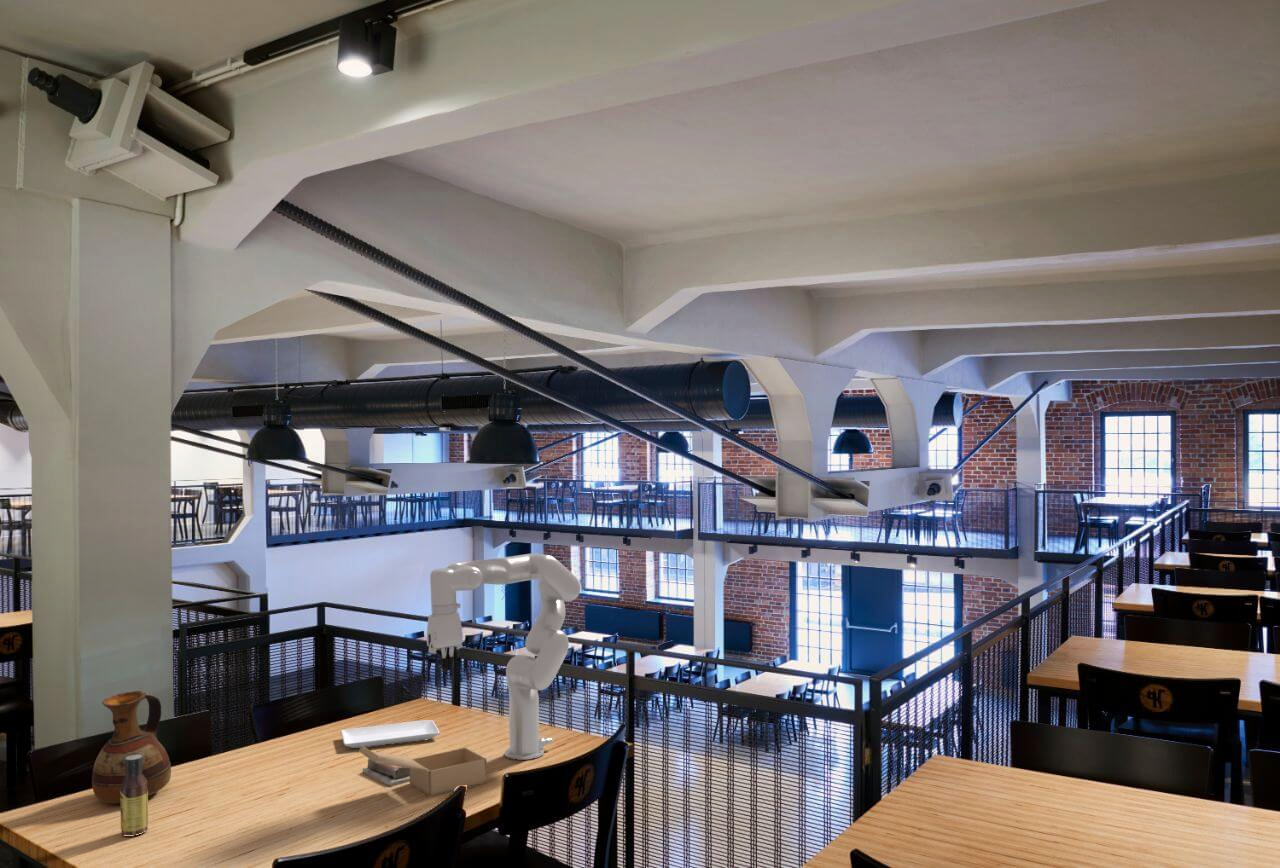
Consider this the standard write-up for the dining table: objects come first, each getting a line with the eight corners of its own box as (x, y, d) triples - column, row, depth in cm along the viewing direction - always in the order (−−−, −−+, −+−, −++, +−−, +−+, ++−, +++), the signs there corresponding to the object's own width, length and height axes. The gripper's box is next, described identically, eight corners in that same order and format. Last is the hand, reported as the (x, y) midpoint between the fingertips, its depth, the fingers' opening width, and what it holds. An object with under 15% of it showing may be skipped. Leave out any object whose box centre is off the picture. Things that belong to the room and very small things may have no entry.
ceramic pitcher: (75, 804, 262) (75, 697, 263) (136, 781, 281) (136, 681, 282) (127, 812, 255) (127, 703, 256) (186, 788, 274) (186, 685, 275)
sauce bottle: (127, 829, 244) (127, 752, 244) (152, 827, 244) (152, 751, 245) (115, 839, 237) (115, 760, 238) (141, 838, 238) (141, 759, 238)
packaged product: (361, 758, 286) (390, 750, 293) (361, 773, 286) (390, 766, 293) (391, 771, 273) (421, 763, 280) (391, 788, 273) (421, 779, 280)
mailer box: (465, 770, 286) (465, 747, 286) (486, 782, 275) (486, 758, 275) (409, 783, 276) (409, 759, 276) (429, 796, 264) (429, 771, 264)
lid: (360, 744, 267) (358, 751, 266) (378, 756, 256) (376, 763, 256) (409, 752, 275) (407, 758, 275) (428, 764, 265) (426, 770, 264)
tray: (440, 742, 317) (440, 731, 317) (343, 753, 305) (343, 743, 305) (432, 728, 333) (432, 718, 333) (340, 739, 321) (340, 729, 321)
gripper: (460, 604, 290) (463, 663, 290) (415, 611, 281) (418, 672, 281) (472, 607, 284) (474, 667, 284) (426, 614, 275) (428, 676, 275)
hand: (446, 669), depth 283 cm, fingers closed
